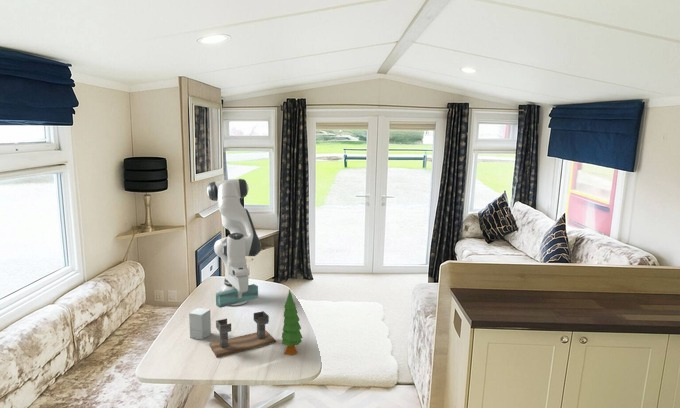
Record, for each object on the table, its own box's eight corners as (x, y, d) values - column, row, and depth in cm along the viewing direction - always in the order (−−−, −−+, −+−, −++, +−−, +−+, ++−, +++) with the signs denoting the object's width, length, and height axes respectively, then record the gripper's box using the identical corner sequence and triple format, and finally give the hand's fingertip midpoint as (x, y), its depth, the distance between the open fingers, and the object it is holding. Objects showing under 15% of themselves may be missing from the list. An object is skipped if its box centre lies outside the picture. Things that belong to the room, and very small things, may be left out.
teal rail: (216, 305, 192) (215, 293, 192) (253, 295, 206) (253, 284, 205) (220, 307, 190) (219, 295, 189) (258, 297, 203) (257, 285, 202)
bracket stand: (209, 346, 193) (208, 319, 191) (266, 333, 208) (266, 308, 206) (216, 357, 183) (216, 329, 181) (275, 343, 198) (275, 317, 196)
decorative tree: (282, 347, 193) (282, 285, 189) (302, 346, 194) (303, 285, 190) (281, 357, 184) (281, 293, 180) (302, 357, 185) (303, 292, 181)
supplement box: (211, 333, 206) (211, 309, 204) (202, 340, 199) (201, 315, 197) (198, 331, 208) (198, 307, 206) (189, 337, 201) (188, 312, 199)
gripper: (223, 263, 203) (224, 290, 204) (237, 274, 185) (237, 304, 187) (236, 261, 206) (237, 288, 208) (250, 272, 189) (251, 301, 190)
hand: (237, 296), depth 197 cm, fingers closed on teal rail, 4 cm apart
